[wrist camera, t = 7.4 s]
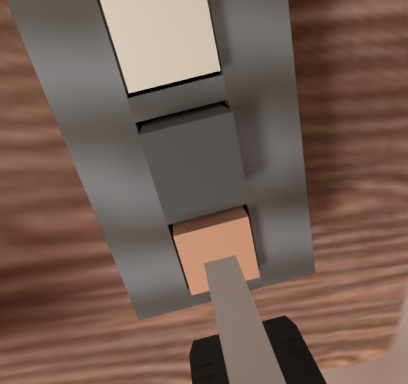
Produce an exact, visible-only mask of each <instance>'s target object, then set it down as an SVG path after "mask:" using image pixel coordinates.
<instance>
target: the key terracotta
mask: <svg viewBox="0 0 408 384" xmlns="http://www.w3.org/2000/svg"><path fill="white" fill-rule="evenodd" d="M173 237H174V240H175V243H176V247H177V250H178V253H179V256H180V259H181V263H182V266H183V269H184V272H185V276H186V279H187V282H188V285H189V288H190V292H191V295H196V294H199V293H203V292H207V291H210V290H209V286H208V281H207V276H206V272H205V267H204V263H207V262H210V261H214V260H218V259H222V258H226V257H230V256H234V255H236V258H237V260H238V263H239V265H240V268H241V270H242V273H243V275H244V278H245V280H246V281H247V280H251V279H255V278H258V277H260V275H259V270H258V265H257V260H256V254H255V249H254V244H253V239H252V233H251V228H250V223H249V218H248V215H247V213H246V212H245V210H244V208H243V206H242V205H241V206H238V207H234V208H230V209H226V210H222V211H219V212H215V213H211V214H207V215H203V216H200V217H196V218H192V219H188V220H184V221H181V222H177V223H173Z"/></svg>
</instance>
